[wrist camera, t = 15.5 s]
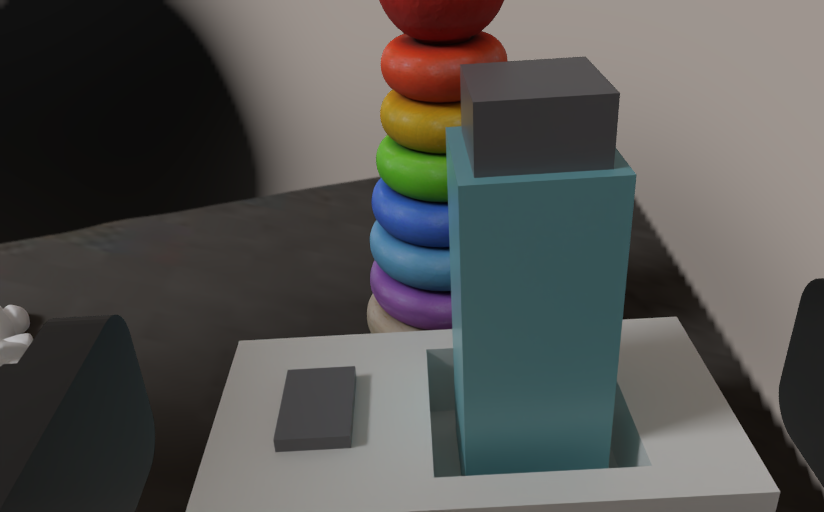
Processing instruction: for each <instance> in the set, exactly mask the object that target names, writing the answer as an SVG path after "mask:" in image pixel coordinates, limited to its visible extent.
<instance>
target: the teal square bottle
mask: <svg viewBox="0 0 824 512" xmlns="http://www.w3.org/2000/svg"><path fill="white" fill-rule="evenodd" d="M460 86H461V126H457V127H445V128H446V157H447V186H448V216H449V245H450V274H451V303H452V333H453V362H454V391H455V420H456V435H457V443H458V452H459V460H460V468H461V476H474V475H493V474H512V473H530V472H549V471H568V470H587V469H605V468H608V467H609V456H610V446H611V435H612V425H613V414H614V404H615V393H616V383H617V372H618V362H619V351H620V341H621V331H622V320H623V310H624V299H625V289H626V278H627V268H628V257H629V247H630V236H631V226H632V215H633V205H634V194H635V184H636V174H635V172H634V171H633V170H632V169H631V167H630V166H629V165H628V163H627V162H626V161H625V160H624V158H623V157H622V155H621V154H620V153H619V151H618V150H617V149H616V135H617V122H618V109H619V98H620V97H619V96H620V93H619V92H618V91H617V90H616V89H615V87H614V86H613V85H612V84H611V83H610V82H609V81H608V80H607V79H606V78H605V77H604V76H603V75H602V74H601V73H600V71H599V70H597V68H596V67H595V66H594V65H593V64H592V63H591V62H590V61H589V60H588V59H587V58H586V57H573V58H556V59H540V60H524V61H508V62H492V63H476V64H460Z"/></svg>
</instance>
